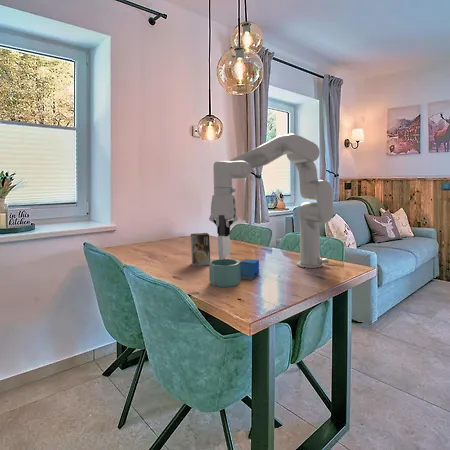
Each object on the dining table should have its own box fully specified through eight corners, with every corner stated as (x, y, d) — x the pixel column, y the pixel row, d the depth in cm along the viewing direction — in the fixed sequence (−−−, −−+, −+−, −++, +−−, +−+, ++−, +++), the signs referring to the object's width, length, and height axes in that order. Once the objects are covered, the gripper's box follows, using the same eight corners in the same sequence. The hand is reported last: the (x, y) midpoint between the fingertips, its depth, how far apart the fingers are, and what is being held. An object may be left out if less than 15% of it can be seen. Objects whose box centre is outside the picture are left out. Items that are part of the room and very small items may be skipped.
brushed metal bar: (230, 252, 152) (228, 212, 147) (223, 259, 143) (221, 216, 139) (225, 252, 152) (223, 212, 148) (218, 259, 144) (215, 216, 140)
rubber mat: (257, 274, 160) (257, 273, 160) (251, 280, 151) (251, 279, 151) (232, 272, 164) (232, 272, 164) (225, 278, 155) (225, 277, 155)
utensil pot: (243, 279, 152) (242, 259, 151) (234, 288, 141) (233, 266, 140) (216, 277, 156) (216, 258, 155) (206, 285, 145) (205, 264, 144)
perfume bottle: (254, 263, 154) (229, 261, 159) (254, 276, 155) (229, 274, 160) (258, 260, 160) (234, 258, 165) (259, 273, 161) (234, 270, 166)
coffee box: (208, 262, 186) (207, 232, 183) (210, 265, 179) (209, 234, 177) (191, 263, 184) (190, 233, 182) (192, 266, 178) (191, 235, 175)
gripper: (244, 191, 144) (244, 235, 147) (208, 191, 150) (209, 233, 152) (238, 192, 137) (239, 238, 140) (201, 192, 143) (202, 236, 145)
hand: (223, 235), depth 146 cm, fingers closed on brushed metal bar, 2 cm apart
